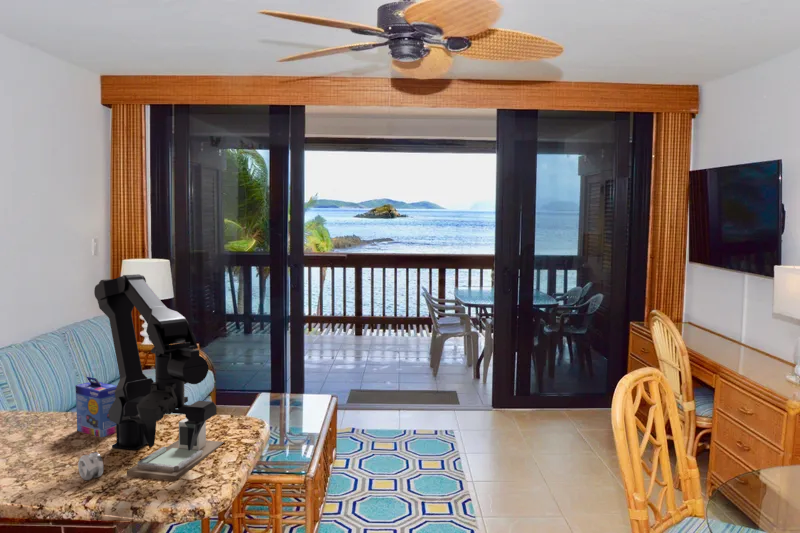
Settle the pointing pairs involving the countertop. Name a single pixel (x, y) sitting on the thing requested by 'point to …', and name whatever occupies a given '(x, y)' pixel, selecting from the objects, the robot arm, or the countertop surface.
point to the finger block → (184, 436)
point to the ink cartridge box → (95, 407)
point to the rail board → (174, 461)
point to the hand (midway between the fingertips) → (170, 448)
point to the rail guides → (162, 467)
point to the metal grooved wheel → (90, 466)
